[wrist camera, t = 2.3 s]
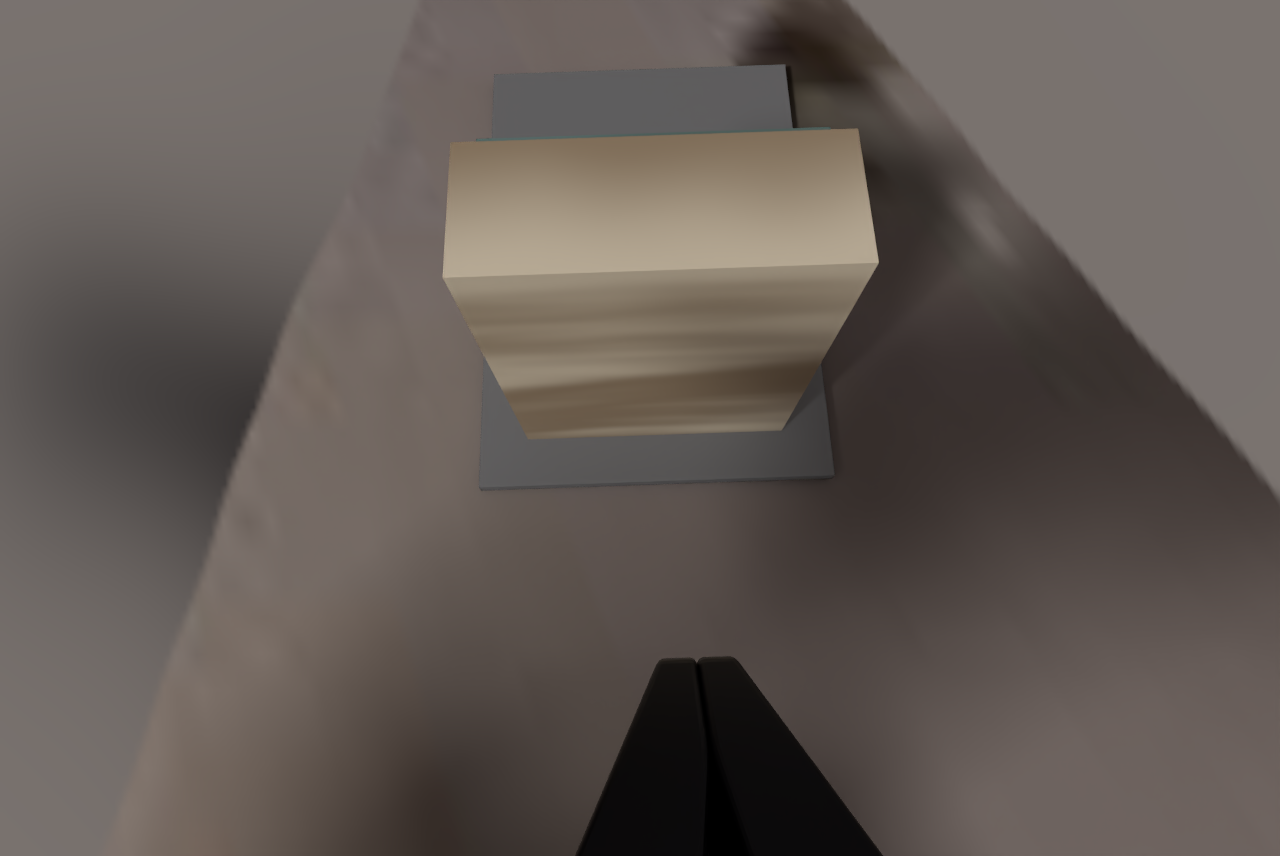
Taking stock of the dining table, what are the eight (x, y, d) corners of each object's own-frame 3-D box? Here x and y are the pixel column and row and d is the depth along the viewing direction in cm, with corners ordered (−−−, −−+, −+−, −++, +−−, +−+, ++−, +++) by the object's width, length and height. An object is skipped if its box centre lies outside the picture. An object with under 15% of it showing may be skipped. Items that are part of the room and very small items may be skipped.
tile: (781, 430, 23) (878, 262, 13) (527, 439, 23) (442, 277, 13) (771, 332, 24) (855, 111, 14) (529, 340, 24) (451, 125, 14)
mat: (831, 478, 23) (834, 474, 22) (481, 490, 23) (478, 487, 22) (782, 72, 28) (784, 64, 27) (496, 82, 28) (494, 74, 27)
